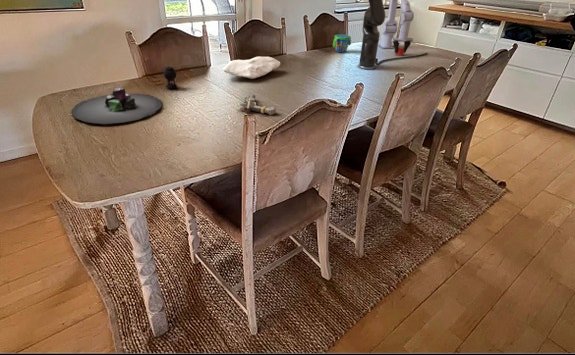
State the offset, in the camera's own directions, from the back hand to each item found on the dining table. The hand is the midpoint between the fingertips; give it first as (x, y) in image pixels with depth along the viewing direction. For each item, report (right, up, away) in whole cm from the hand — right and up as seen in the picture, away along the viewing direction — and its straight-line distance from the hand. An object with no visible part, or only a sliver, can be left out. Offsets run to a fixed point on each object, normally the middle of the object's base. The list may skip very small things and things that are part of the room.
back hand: (399, 52), depth 247 cm
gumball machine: (-133, -42, -71) cm, 156 cm away
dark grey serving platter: (-147, -56, -95) cm, 184 cm away
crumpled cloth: (-97, -29, -49) cm, 112 cm away
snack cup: (-40, +1, +2) cm, 40 cm away
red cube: (0, -1, +1) cm, 1 cm away
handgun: (-89, -54, -88) cm, 137 cm away
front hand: (-53, +27, -30) cm, 66 cm away
